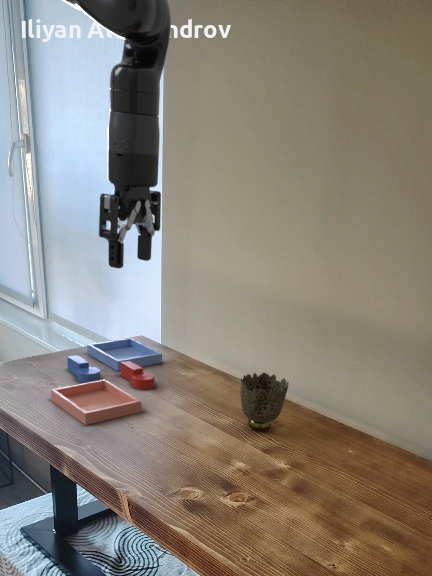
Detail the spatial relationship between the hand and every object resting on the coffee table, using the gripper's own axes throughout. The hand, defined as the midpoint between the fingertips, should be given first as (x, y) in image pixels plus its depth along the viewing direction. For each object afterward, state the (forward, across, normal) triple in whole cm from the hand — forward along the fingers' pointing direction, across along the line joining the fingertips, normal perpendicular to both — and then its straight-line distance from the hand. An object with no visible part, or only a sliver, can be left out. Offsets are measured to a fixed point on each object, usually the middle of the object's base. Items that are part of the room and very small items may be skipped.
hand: (130, 263), depth 100 cm
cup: (+21, +2, +26) cm, 33 cm away
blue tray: (+21, -13, -9) cm, 27 cm away
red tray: (+21, +10, 0) cm, 23 cm away
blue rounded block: (+21, 0, -10) cm, 23 cm away
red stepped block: (+21, -4, 0) cm, 22 cm away
